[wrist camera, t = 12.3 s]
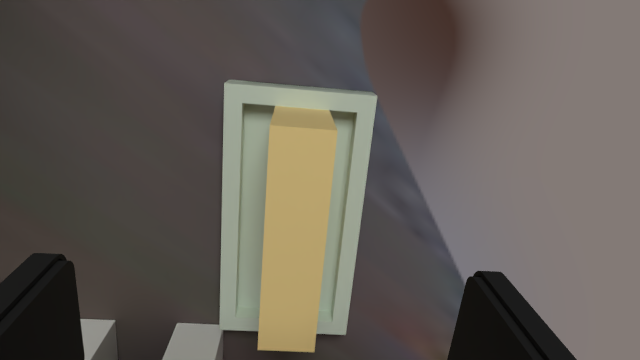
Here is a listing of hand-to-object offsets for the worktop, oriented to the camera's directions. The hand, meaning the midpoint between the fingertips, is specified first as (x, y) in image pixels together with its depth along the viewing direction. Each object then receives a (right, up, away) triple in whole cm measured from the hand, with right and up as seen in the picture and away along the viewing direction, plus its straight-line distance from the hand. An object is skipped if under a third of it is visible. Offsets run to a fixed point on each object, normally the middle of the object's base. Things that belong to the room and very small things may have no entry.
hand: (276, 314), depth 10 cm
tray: (-1, +1, +18) cm, 18 cm away
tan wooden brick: (-1, +2, +17) cm, 17 cm away
